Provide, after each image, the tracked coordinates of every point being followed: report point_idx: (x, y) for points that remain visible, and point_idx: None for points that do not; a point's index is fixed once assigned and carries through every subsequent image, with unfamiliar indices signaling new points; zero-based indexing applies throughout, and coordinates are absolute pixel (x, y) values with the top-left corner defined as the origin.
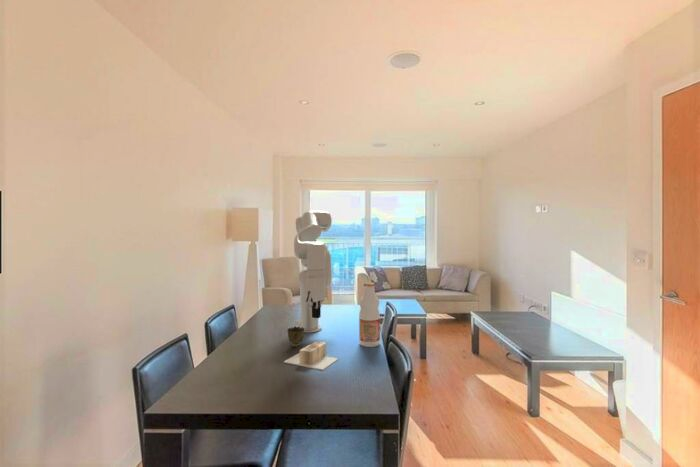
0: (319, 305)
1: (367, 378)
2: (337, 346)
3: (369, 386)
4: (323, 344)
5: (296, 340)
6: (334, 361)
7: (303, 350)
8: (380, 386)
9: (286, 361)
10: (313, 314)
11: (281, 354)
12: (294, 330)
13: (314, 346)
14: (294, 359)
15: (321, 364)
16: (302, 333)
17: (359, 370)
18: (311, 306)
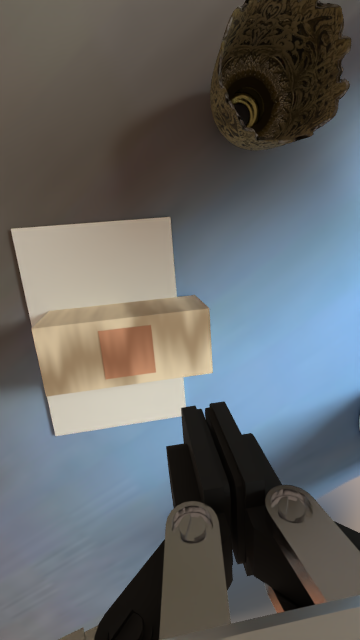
0: (274, 603)
1: (95, 573)
2: (323, 317)
3: (48, 606)
4: (183, 376)
5: (222, 133)
6: (153, 419)
7: (39, 351)
8: (68, 623)
9: (19, 241)
10: (168, 464)
11: (92, 129)
12: (314, 28)
13: (128, 360)
14: (66, 259)
15: (93, 401)
16: (276, 145)
17: (137, 524)
18: (136, 578)
